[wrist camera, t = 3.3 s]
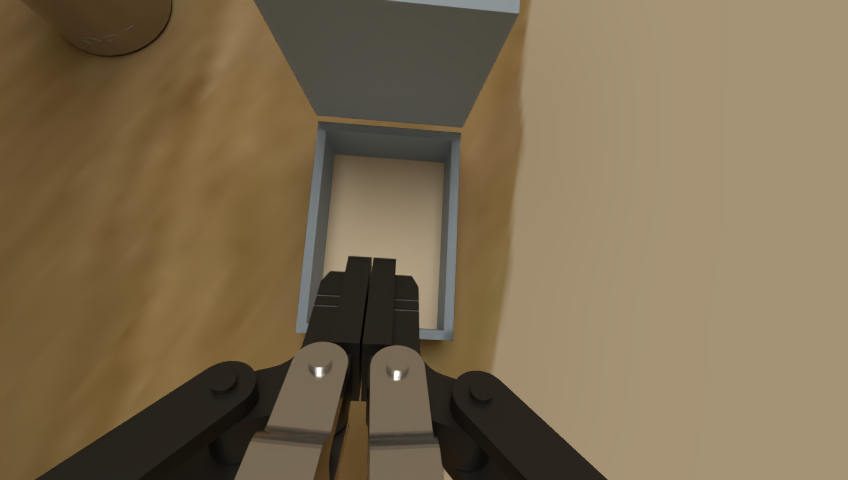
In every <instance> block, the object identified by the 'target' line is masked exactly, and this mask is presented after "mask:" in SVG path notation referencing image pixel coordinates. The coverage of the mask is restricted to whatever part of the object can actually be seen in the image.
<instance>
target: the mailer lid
mask: <svg viewBox="0 0 848 480" xmlns="http://www.w3.org/2000/svg"><path fill="white" fill-rule="evenodd" d="M254 1H255V3H256V5H257V7H258V9H259V11H260V12H261V14H262V16H263V18H264V20H265V22H266V23H267V25H268V27H269V29H270V31H271V32H272V34H273V36H274V38H275V40H276V42H277V43H278V45H279V47H280V49H281V51H282V53H283V54H284V56H285V58H286V60H287V62H288V64H289V65H290V67H291V69H292V71H293V73H294V75H295V76H296V78H297V80H298V82H299V84H300V86H301V87H302V89H303V91H304V93H305V95H306V97H307V98H308V100H309V102H310V104H311V106H312V108H313V109H314V111H315V113H316V115H319V116H331V117H343V118H355V119H367V120H379V121H391V122H403V123H415V124H427V125H440V126H452V127H463V125H464V123H465V121H466V119H467V117H468V115H469V113H470V111H471V109H472V107H473V105H474V103H475V101H476V99H477V97H478V95H479V93H480V91H481V89H482V87H483V85H484V83H485V81H486V79H487V77H488V75H489V73H490V71H491V69H492V67H493V65H494V63H495V61H496V59H497V57H498V55H499V53H500V51H501V49H502V47H503V45H504V43H505V41H506V39H507V37H508V35H509V33H510V31H511V29H512V27H513V25H514V23H515V21H516V19H517V17H518V15H519V4H520V0H254Z"/></svg>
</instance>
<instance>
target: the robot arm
mask: <svg viewBox="0 0 848 480" xmlns="http://www.w3.org/2000/svg"><path fill="white" fill-rule="evenodd" d="M21 1H23V2H24V3H25V4H26V5H27V6H28V7H29V8H30V9H32V10H33V11H34V12H35V13H36V14H37V15H39V16H40V17H41V18H42V19H43V20H44V21H45V22H47V23H48V24H49V25H50V26H51V27H52V28H54V29H55V30H56V31H57V32H58V33H59V34H61V35H62V36H63V37H64V38H65V39H66V40H68V41H69V42H70V43H71V44H73V45H74V46H75V47H77V48H79V49H81V50H83V51H85V52H89V53H93V54H97V55H107V56H113V55H121V54H126V53H129V52H132V51H136V50H138V49H139V48H141V47H143V46H145V45H147V44H148V43H150V42H151V41H152V40H153V39H155V38H156V37H157V36H158V35H159V33H160V32H161V31H162V30H163V29H164V27H165V25H166V23H167V21H168V19H169V15H170V12H171V0H21ZM395 273H396V259H390V258H373V265H372V257H360V256H348V260H347V265H346V270H345V272H341V271H330V272H329V273H328V274H327V275H326V276H325V277H324V278H323V279H322V280H321V282H320V285H319V289H318V292H317V296H316V299H315V303H314V306H313V310H312V313H311V317H310V321H309V324H308V328H307V331H306V335H305V338H304V342H303V345H302V347H301V349H300V350H299V351H298V352H297V353H296V355H295V356H294V357H293V358H292V359H290V360H289V361H287V362H285V363H283V364H281V365H278V366H275V367H271V368H267V369H262V370H258V371H254V370H253V369H252V368H251V367H250V366H249V365H247V364H245V363H243V362H239V361H227V362H222V363H218V364H216V365H213V366H211V367H210V368H208V369H206V370H205V371H203V372H202V373H200V374H198V375H197V376H195V377H194V378H192V379H191V380H189V381H188V382H186V383H184V384H183V385H181V386H180V387H178V388H177V389H175V390H174V391H172V392H170V393H169V394H167V395H166V396H164V397H163V398H161V399H160V400H158V401H156V402H155V403H153V404H152V405H150V406H149V407H147V408H146V409H144V410H142V411H141V412H139V413H138V414H136V415H135V416H133V417H132V418H130V419H129V420H127V421H125V422H124V423H122V424H121V425H119V426H118V427H116V428H115V429H113V430H111V431H110V432H108V433H107V434H105V435H104V436H102V437H101V438H99V439H97V440H96V441H94V442H93V443H91V444H90V445H88V446H87V447H85V448H83V449H82V450H80V451H79V452H77V453H76V454H74V455H73V456H71V457H70V458H68V459H66V460H65V461H63V462H62V463H60V464H59V465H57V466H56V467H54V468H52V469H51V470H49V471H48V472H46V473H45V474H43V475H42V476H40V477H38V478H37V479H35V480H337V479H338V475H339V470H340V465H341V461H342V456H343V452H344V447H345V442H346V438H347V433H348V428H349V409H350V402H351V401H359V396H360V388H361V379H362V391H361V401H366V423H367V426H368V469H367V480H444V476H443V469H442V465H443V467H444V469H445V470H446V472H447V473H448V474H449V475H450V476H451V478H452V479H453V480H607V479H606V478H605V477H604V476H603V475H602V474H601V473H600V472H598V471H597V470H596V469H595V468H594V467H593V466H592V465H591V464H590V463H589V462H588V461H587V460H585V458H583V457H582V456H581V455H580V454H579V453H578V452H577V451H576V450H575V449H574V448H573V447H572V446H570V445H569V444H568V443H567V442H566V441H565V440H564V439H563V438H562V437H561V436H560V435H559V434H558V433H556V432H555V431H554V430H553V429H552V428H551V427H550V426H549V425H548V424H547V423H546V422H545V421H543V420H542V419H541V418H540V417H539V416H538V415H537V414H536V413H535V412H534V411H533V410H531V409H530V408H529V407H528V406H527V405H526V404H525V403H524V402H523V401H522V400H521V399H520V398H518V397H517V396H516V395H515V394H514V393H513V392H512V391H511V390H510V389H509V388H508V387H507V386H506V385H505V384H503V383H502V382H501V381H500V380H499V379H498V378H496V377H495V376H493V375H491V374H489V373H486V372H483V371H470V372H466V373H464V374H462V375H461V376H459V377H458V378H457V379H454V378H451V377H448V376H445V375H442V374H440V373H437V372H436V371H434V370H432V369H431V368H430V367H429V366H428V365H427V364H426V363H425V362H424V361H423V359H422V357H421V354H420V338H419V287H418V285H417V284H416V282H415V280H414V279H413V277H412V276H407V275H395Z"/></svg>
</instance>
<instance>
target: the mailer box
mask: <svg viewBox="0 0 848 480" xmlns="http://www.w3.org/2000/svg"><path fill="white" fill-rule="evenodd" d="M460 138H461V133H455V132H443V131H431V130H419V129H407V128H395V127H382V126H370V125H358V124H346V123H334V122H321V121H318V130H317V139H316V149H315V158H314V167H313V176H312V186H311V195H310V204H309V213H308V223H307V232H306V241H305V250H304V260H303V269H302V278H301V288H300V297H299V306H298V315H297V325H296V333H306V331H307V328H308V324H309V321H310V317H311V313H312V310H313V306H314V303H315V299H316V296H317V292H318V289H319V285H320V282H321V280H322V279H323V278H324V277H325V276H326V275H327V274H328V273H329V272H330V271H341V272H345V270H346V265H347V260H348V256H360V257H372V265H373V258H390V259H396V273H395V275H407V276H412V277H413V279H414V280H415V282H416V284H417V285H418V287H419V338H420V339H431V340H450V341H453V319H454V293H455V267H456V241H457V216H458V190H459V164H460Z"/></svg>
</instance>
